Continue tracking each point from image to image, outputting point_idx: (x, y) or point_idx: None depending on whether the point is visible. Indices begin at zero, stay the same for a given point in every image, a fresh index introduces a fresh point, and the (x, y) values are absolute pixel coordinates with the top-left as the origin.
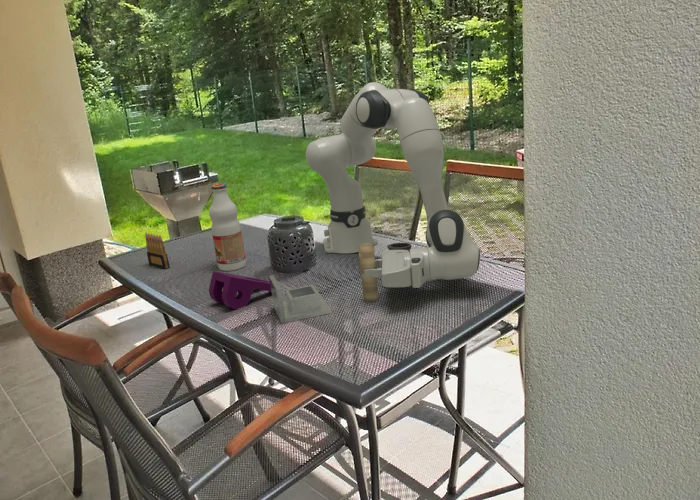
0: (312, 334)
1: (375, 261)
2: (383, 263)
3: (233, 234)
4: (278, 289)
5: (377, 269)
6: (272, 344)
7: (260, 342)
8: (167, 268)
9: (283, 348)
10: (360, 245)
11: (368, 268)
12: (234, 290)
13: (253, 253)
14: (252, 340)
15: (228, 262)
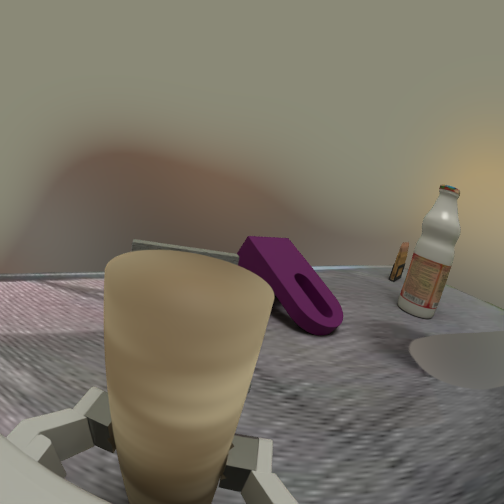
0: (36, 320)
1: (266, 498)
2: (58, 487)
3: (427, 259)
4: (134, 240)
5: (31, 427)
6: (58, 285)
7: (78, 281)
8: (391, 280)
9: (32, 286)
10: (215, 264)
11: (106, 410)
12: (244, 262)
13: (464, 325)
14: (94, 279)
15: (403, 294)
